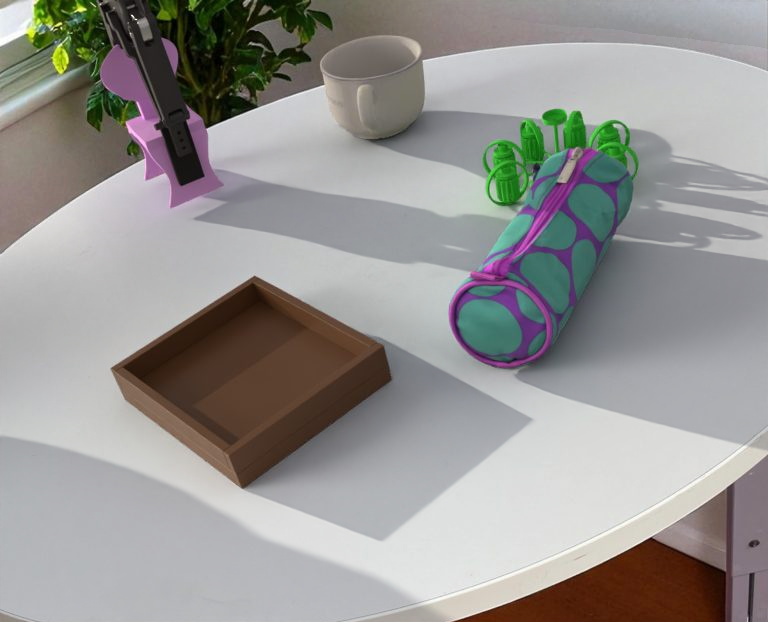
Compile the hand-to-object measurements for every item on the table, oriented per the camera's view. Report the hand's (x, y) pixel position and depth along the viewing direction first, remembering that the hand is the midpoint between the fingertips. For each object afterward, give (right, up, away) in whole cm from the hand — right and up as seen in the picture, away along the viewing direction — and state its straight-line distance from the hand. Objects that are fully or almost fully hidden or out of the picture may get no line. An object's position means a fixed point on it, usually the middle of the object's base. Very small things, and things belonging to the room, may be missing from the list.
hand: (178, 164), depth 113 cm
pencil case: (+36, -19, -24) cm, 47 cm away
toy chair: (0, -2, +2) cm, 3 cm away
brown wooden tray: (+11, -27, -24) cm, 38 cm away
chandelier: (+39, -6, -11) cm, 41 cm away
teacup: (+22, +4, +3) cm, 22 cm away
